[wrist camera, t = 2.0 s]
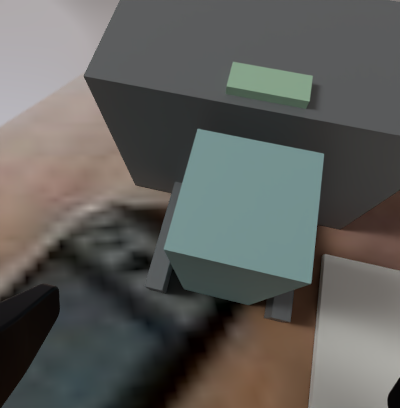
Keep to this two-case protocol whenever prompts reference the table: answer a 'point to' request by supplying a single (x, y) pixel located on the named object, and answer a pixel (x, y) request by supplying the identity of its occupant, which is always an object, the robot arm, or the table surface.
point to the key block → (245, 218)
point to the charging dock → (255, 95)
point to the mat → (355, 335)
